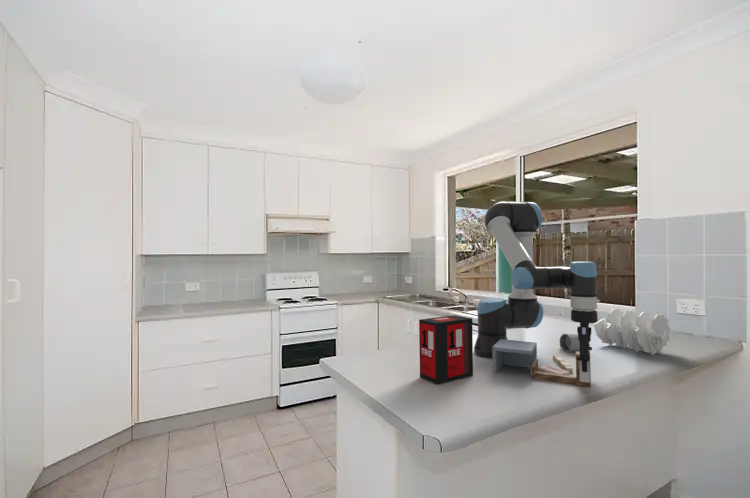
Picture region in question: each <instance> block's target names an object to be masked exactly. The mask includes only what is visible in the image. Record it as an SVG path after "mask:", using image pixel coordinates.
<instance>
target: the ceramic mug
mask: <svg viewBox="0 0 750 498" xmlns="http://www.w3.org/2000/svg"><path fill="white" fill-rule="evenodd" d="M559 348H561V350H562V351H563V352H565V353H573V352H576V351H577V352H580V341H579V340H578V333H563V334H561V335H560V337H559Z"/></svg>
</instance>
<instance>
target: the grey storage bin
mask: <svg viewBox="0 0 750 498" xmlns="http://www.w3.org/2000/svg"><path fill="white" fill-rule="evenodd" d="M537 344H538V343H537V342H533V341H525V340H523V341H522V340H513V339H512V340H511V339H508V340H505V339H500V340H499V341H498V342H497V343H496V344H495V345H494V346H493V347H492V354H493V358H492V373H493V374H497V373H498V371H499V370H501V368H502V367H503V366H504V365H508V366H509V365H510V366H514V367H515V366H517V367H523V368H531V366H532V364H533V362H534V360H535V359H538V351H537V350H538V349H537V348H538V347H537Z"/></svg>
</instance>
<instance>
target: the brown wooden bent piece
mask: <svg viewBox="0 0 750 498" xmlns="http://www.w3.org/2000/svg"><path fill="white" fill-rule="evenodd" d="M577 357H580V351H575V375H569V376H568V375H561V374H553V373H545V372H538V367H539V359H538V358H537V359H535V360H534V362H533V364H532V366H531V367H530V377H531V379H532V380H540V381H541V380H542V381H549V382H555V383H556V382H557V383H562V384H571V385H575V386H577V387H585V388H591V387H592V380H591V379H592V378H591V376H592V375H591V373H592V372H591V369H590V383H588V382H581V381H580V366H579V360H577ZM589 361H590V362H591V352H590V353H589Z"/></svg>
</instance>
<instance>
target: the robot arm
mask: <svg viewBox="0 0 750 498" xmlns="http://www.w3.org/2000/svg"><path fill="white" fill-rule="evenodd" d="M542 224H543V212H542V210H541V208H540V206H539V205H538V204H537V203H535V202H530V201H499V202H497V203H494V204H492V205H491V206H490V207H489V208H488V210H487V211H486V212H485V216H484V227H485V229H486V231H487V232H488V234H490V235H491V236H493V238H494V240H495V241H496V243H497V245H498V246H499V249H500V250H501V253H502V254H503V256H504V257H505V259H506V261H507V262H508V265H509V266H510V268H511V272H510V280H511V292H510V293H509V294H508V296H507V299H506V298H505V297H490V298H485V299H481V300H480V301H478V303H477V312H476V313H477V337H476V340H475V344H474V348H473V354H474V355H476V356H479V357H482V358H486V359H487V358H488V359H493V354H492V347H493V346H494V345H495V344H496V343H497V342H498V341H499V340H500V339H505V340H509V339H508V335H507V329H508V330H509V329H530V328H536V327H539V325H540V324H541V323H542V321H543V318H544V307H543V305H542V303H541V302H540V301H539V300H538V297H537V295H536V294H535V293H534V290H541V289H542V290H543V289H544V290H546V289H547V290H549V289H550V290H551V289H553V290H555V289H566V290H570V298H569V299H570V308H571V310H570V320H571V321H572V322H574V323H579V325H578V326H577V329H576V330H577V333H576V334H578V340H579V341H580V351H579V352H580V357H577V360H579V366H580V381H581V382H588V383H590V370H591V360H590V361H589V353H590V354H591V351H592V350H593V347H592V346H590V342H591V341H592V340H591V339H592V338H591V336H592V327H591V326H590V324H595V323H597V322H598V321H599V320H598V317H599V316H598V311H597V309H598V303H600V299H597V298H598V273H597V264H596V263H595V261H571V262H570V263H569V264H570V265H569V267H568V266H558V265H557V266H546V267H545V266H544V267H543V266H542V267H541V266H536V264H535V262H534V250H533V248H534V244H533V241H534V240H533V239H534V236H535V235H536V234H537V230H538V229H540V228H541V227H542Z"/></svg>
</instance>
